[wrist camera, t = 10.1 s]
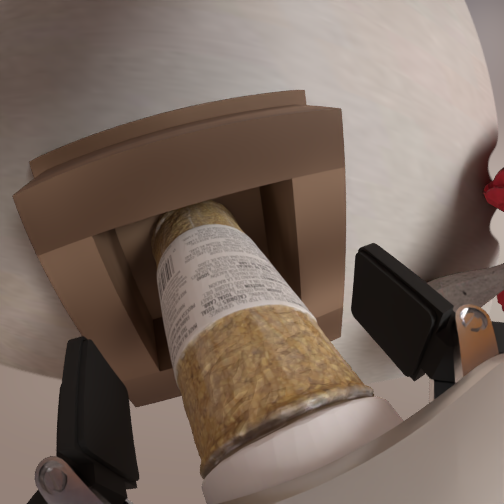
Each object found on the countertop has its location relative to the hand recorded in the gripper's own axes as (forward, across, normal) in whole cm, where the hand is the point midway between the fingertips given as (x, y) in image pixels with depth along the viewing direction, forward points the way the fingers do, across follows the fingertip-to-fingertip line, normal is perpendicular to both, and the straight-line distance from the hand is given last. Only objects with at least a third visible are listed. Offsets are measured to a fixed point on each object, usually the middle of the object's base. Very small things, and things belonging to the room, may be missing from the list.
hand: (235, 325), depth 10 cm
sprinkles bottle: (+7, 0, 0) cm, 7 cm away
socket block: (+8, 0, 0) cm, 8 cm away
